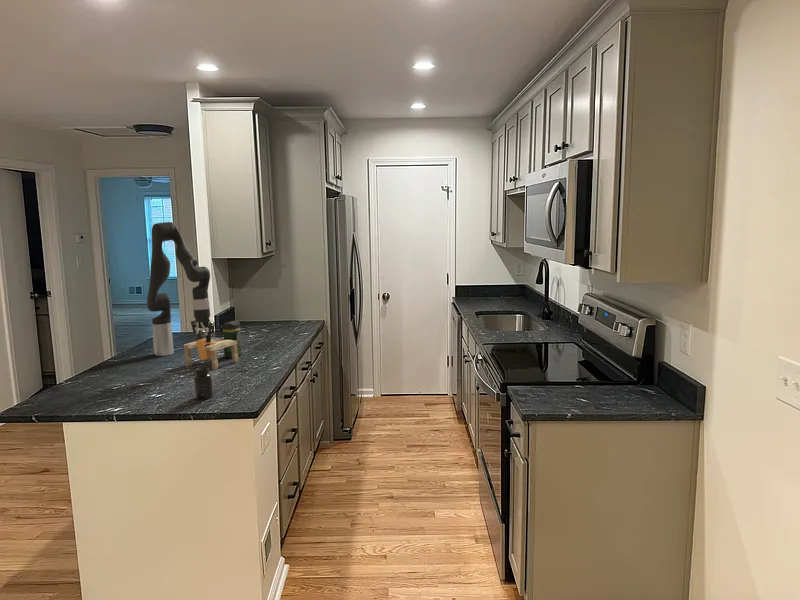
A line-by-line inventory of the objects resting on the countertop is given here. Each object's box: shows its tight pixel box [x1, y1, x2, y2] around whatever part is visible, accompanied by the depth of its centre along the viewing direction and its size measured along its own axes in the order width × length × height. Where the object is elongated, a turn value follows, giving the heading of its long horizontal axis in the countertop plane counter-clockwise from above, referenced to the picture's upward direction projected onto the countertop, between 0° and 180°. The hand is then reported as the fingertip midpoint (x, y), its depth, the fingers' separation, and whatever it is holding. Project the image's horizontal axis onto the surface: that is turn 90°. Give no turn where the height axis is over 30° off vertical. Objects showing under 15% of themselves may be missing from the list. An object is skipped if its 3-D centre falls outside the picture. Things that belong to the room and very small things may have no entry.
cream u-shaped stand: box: [183, 337, 239, 370], centre depth 268 cm, size 20×16×11 cm
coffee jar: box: [222, 320, 243, 359], centre depth 282 cm, size 10×8×19 cm
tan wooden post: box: [196, 337, 212, 361], centre depth 264 cm, size 4×6×10 cm
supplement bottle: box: [193, 366, 214, 400], centre depth 215 cm, size 7×7×12 cm
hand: (204, 341), depth 263 cm, fingers open, 5 cm apart
